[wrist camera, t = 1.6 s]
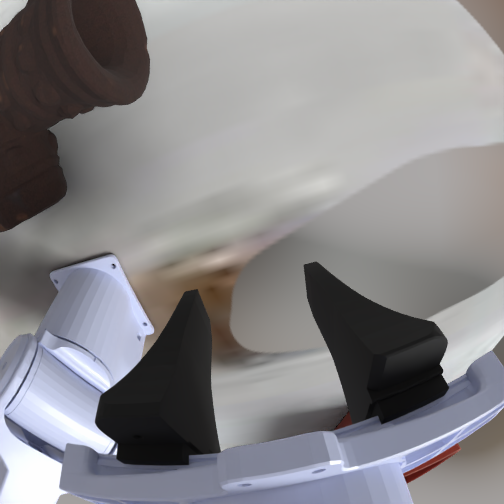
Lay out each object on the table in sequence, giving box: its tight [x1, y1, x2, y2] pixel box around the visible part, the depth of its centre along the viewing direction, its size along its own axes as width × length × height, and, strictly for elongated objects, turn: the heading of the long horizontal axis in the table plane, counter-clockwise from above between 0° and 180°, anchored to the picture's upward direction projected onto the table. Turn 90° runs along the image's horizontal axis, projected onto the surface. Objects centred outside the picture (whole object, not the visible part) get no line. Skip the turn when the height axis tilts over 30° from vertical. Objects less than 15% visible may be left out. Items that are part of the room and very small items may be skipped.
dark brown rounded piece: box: [0, 0, 150, 232], centre depth 12 cm, size 10×15×15 cm
